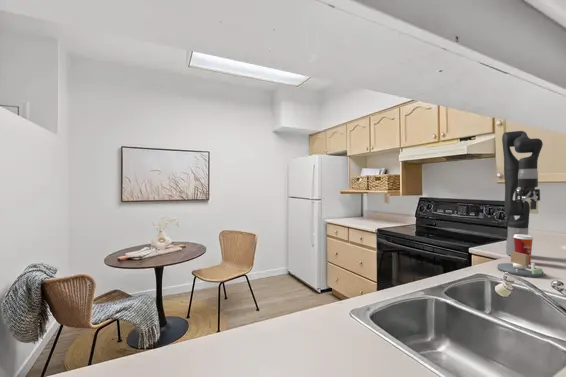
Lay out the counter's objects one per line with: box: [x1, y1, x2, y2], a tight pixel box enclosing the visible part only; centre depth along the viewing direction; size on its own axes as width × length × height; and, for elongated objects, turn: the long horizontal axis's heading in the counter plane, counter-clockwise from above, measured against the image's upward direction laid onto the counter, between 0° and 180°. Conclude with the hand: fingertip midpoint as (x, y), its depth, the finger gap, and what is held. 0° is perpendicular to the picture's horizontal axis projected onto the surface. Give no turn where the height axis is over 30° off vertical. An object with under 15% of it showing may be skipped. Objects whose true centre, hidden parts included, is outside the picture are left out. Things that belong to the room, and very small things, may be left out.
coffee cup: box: [513, 234, 534, 265], centre depth 146 cm, size 8×8×15 cm
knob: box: [510, 252, 536, 271], centre depth 130 cm, size 10×5×7 cm, turn 9°
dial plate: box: [496, 262, 544, 279], centre depth 131 cm, size 17×17×4 cm
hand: (527, 209), depth 137 cm, fingers open, 8 cm apart
